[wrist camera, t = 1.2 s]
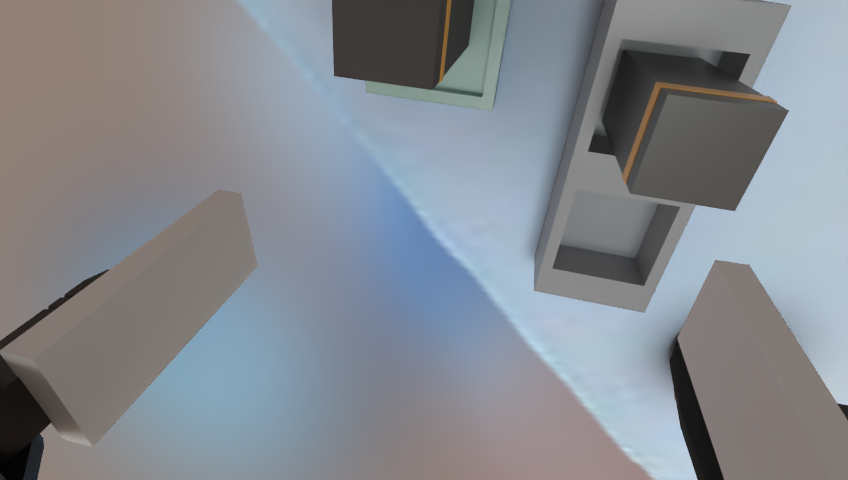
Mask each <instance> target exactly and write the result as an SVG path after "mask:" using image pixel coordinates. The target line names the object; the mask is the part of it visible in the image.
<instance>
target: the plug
mask: <svg viewBox="0 0 848 480" xmlns="http://www.w3.org/2000/svg"><path fill="white" fill-rule="evenodd" d="M473 8H474V0H332V15H333V52H334V76H338V77H345V78H352V79H359V80H365V81H372V82H379V83H386V84H393V85H400V86H407V87H414V88H421V89H428V90H433V89H434V88H435V86H436V85H437V84H438V83H441V81H442V80H443V77H444V75H445V74H446V73H447V72H448V70H449V69H450V68H451V67H452V66H453V64H454V63H455V62H456V61H457V59H458V58H459V57H460V56H461V55H462V53H463V52H464V51H465V50H466V48H467V47H468V46H469V39H470V31H471V23H472V16H473Z"/></svg>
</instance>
